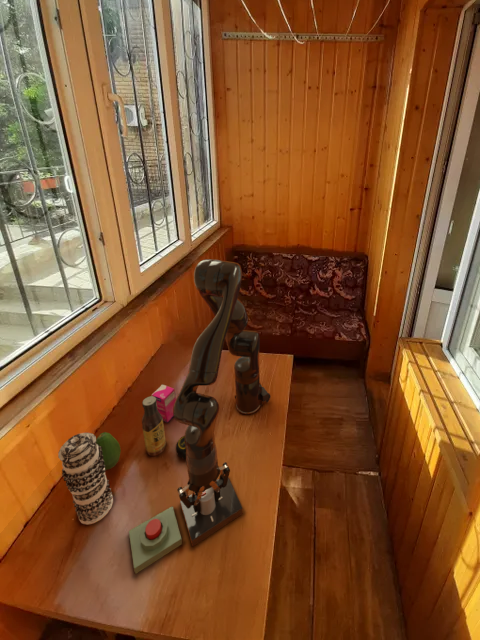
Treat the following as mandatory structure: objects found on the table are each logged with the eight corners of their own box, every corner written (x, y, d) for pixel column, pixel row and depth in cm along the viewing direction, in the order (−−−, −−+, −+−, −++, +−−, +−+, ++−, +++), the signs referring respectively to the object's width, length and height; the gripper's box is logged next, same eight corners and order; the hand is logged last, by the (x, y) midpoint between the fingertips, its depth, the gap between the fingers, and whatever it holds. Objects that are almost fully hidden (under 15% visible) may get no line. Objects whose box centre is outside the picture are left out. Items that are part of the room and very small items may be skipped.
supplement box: (155, 418, 115) (150, 394, 111) (166, 406, 120) (162, 383, 116) (167, 423, 113) (163, 399, 109) (178, 411, 118) (175, 387, 114)
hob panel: (227, 479, 94) (227, 473, 94) (242, 513, 86) (242, 507, 85) (180, 506, 87) (179, 500, 86) (192, 547, 79) (191, 540, 78)
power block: (173, 511, 86) (171, 501, 85) (182, 544, 79) (180, 534, 78) (130, 536, 81) (127, 526, 79) (135, 574, 74) (132, 564, 72)
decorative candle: (119, 507, 87) (102, 441, 78) (81, 534, 81) (59, 467, 72) (108, 483, 93) (92, 420, 84) (72, 507, 87) (50, 442, 78)
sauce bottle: (159, 458, 100) (151, 411, 94) (142, 455, 102) (132, 408, 95) (170, 441, 106) (163, 395, 100) (154, 437, 108) (146, 392, 101)
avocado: (119, 448, 104) (113, 421, 100) (125, 466, 98) (119, 438, 94) (92, 463, 99) (84, 435, 95) (96, 482, 93) (88, 454, 89)
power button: (160, 520, 81) (159, 515, 80) (163, 533, 78) (162, 529, 78) (145, 528, 79) (144, 524, 79) (147, 543, 76) (146, 538, 76)
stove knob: (212, 494, 88) (211, 480, 86) (217, 509, 84) (216, 495, 82) (197, 502, 86) (195, 488, 84) (201, 518, 82) (199, 504, 80)
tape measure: (186, 464, 99) (185, 456, 97) (172, 453, 102) (171, 445, 101) (202, 448, 104) (201, 439, 103) (188, 437, 108) (187, 429, 106)
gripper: (177, 488, 72) (184, 534, 78) (234, 456, 80) (237, 501, 85) (169, 462, 78) (177, 507, 84) (223, 435, 86) (226, 478, 91)
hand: (207, 504), depth 85 cm, fingers closed on stove knob, 4 cm apart
